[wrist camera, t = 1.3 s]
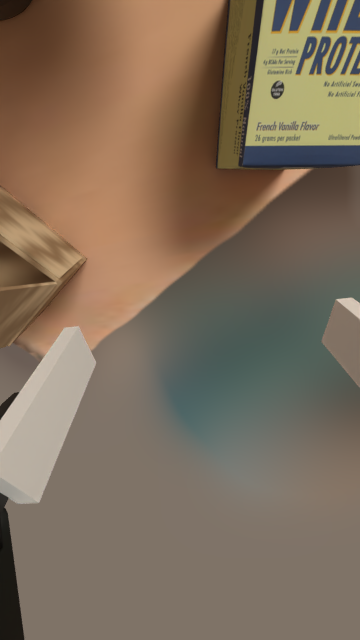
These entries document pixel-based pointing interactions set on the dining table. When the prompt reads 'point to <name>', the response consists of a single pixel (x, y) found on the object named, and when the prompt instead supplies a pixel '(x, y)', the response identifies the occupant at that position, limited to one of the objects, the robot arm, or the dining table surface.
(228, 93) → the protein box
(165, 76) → the dining table surface
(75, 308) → the dining table surface
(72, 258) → the carton
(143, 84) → the dining table surface
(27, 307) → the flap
